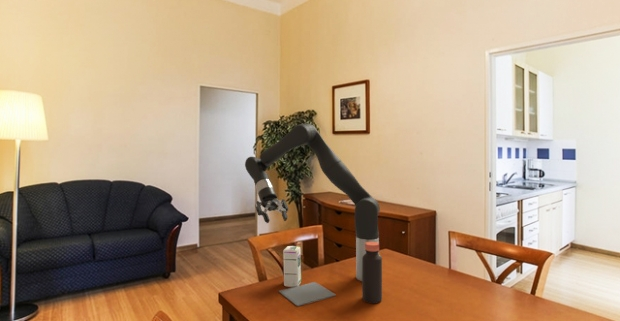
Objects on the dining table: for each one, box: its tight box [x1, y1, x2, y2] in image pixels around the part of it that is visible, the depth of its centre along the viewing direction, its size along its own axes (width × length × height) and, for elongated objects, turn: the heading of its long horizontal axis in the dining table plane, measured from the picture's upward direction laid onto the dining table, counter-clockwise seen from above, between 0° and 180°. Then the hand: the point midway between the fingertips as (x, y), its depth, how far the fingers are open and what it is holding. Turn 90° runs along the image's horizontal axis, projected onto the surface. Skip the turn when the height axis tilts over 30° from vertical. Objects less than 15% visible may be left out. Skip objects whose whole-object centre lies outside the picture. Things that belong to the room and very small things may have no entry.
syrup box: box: [282, 245, 302, 288], centre depth 133 cm, size 6×6×14 cm
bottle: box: [361, 242, 383, 304], centre depth 118 cm, size 7×7×20 cm
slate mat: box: [278, 281, 336, 307], centre depth 124 cm, size 16×14×1 cm
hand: (277, 221), depth 143 cm, fingers open, 8 cm apart
